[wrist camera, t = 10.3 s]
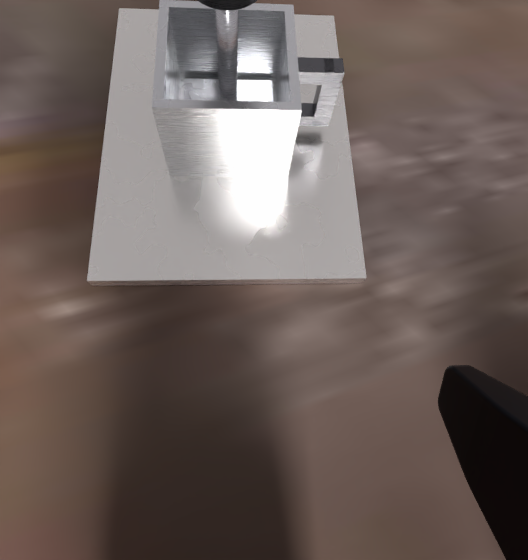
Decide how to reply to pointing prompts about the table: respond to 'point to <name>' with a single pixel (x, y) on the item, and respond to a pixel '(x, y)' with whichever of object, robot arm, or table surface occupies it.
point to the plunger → (227, 62)
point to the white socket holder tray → (225, 156)
